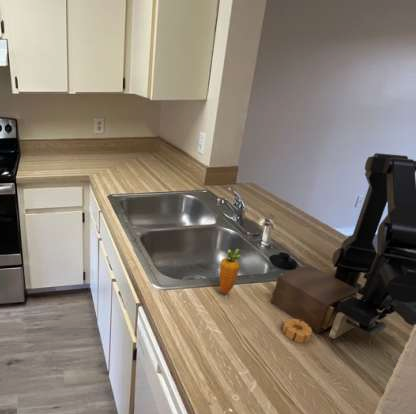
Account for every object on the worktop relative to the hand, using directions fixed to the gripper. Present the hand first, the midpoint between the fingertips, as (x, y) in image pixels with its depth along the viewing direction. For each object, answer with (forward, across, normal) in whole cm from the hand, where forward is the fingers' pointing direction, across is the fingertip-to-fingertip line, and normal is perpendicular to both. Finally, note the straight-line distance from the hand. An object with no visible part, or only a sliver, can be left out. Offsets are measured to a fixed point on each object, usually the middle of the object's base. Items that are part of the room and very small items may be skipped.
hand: (363, 329), depth 77 cm
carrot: (+4, -15, +27) cm, 31 cm away
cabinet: (+4, 0, +12) cm, 13 cm away
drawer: (+3, 0, +6) cm, 7 cm away
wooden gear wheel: (+4, -11, +8) cm, 14 cm away
